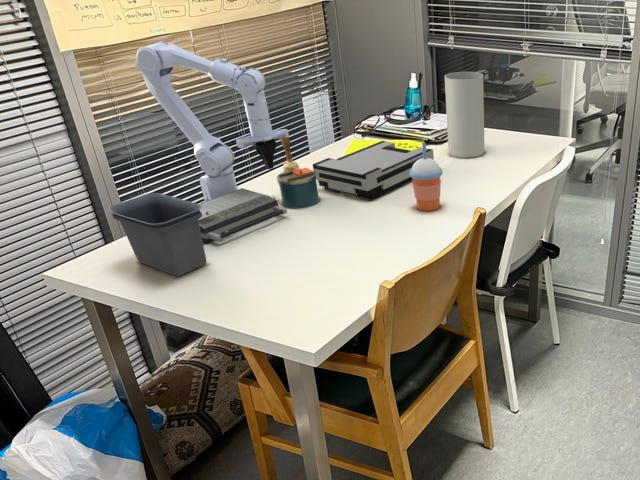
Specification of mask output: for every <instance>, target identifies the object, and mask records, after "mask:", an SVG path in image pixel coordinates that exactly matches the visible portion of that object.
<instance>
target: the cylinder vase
mask: <svg viewBox="0 0 640 480" xmlns="http://www.w3.org/2000/svg"><path fill="white" fill-rule="evenodd" d="M444 91H445V92H444V94H445V112H446V113H445V114H446V130H447V151H448V154H449V155H450V156H452V157H455V158H458V159H459V158H460V159H472V158H476V157H480V156H482V155H483V154H484V153H485V151H486V150H485V149H486V148H485V145H486V144H485V104H484V103H485V101H484V99H485V98H484V96H485V95H484V74H483V73H480V72H476V71H457V72H449V73H447V74H445V75H444Z"/></svg>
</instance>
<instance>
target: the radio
mask: <svg viewBox="0 0 640 480" xmlns="http://www.w3.org/2000/svg"><path fill="white" fill-rule="evenodd" d="M198 204H199V205H201V206H202V208H201V209H200V210H199V211H201V213H202V217H201V218H200V219H198V222H199V226H200V231H201V236H202V241H203V244H209V243H211V242H213V241H214V242H220V241H222V240H223V239H225V238H227V237H229V236H232V235H235V234H236V233H239V232H242V231H244V230H247V229H249V228H251V227H254V226H256V225H259V224H261V223H264V222H267V221H268V220H271V219H273V218H276V217H278V216H280V215H286V214H288V210H287V207H282V206H280V204H279V202H278V200H277V199H276V197H274V196H270V195H267V194H263V193H260V192H257V191H253V190H250V189H246V188H243V187H241V188H238V190H236V191H233V192H230V193H227V194H224V195H222V196H219V197H216V198H213V199H211V200H208V201H205V200H204V201H202V202H200V203H198Z"/></svg>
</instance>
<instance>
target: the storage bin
mask: <svg viewBox="0 0 640 480" xmlns="http://www.w3.org/2000/svg"><path fill="white" fill-rule="evenodd" d="M201 208H202V206H201V205H199V203H196V202H193V201H190V200H189V201H188V200H185V199H181V198H178V197H175V196H170V195H169V194H168V195H167V194H164V193H159V192H152V193H147V194H143V195H139V196H137V197H134V198H131V199H128V200H125V201H122V202H119V203H115V204H113V205H111V206H109V208H108V209H107V211H108V212H109V213H111V216H112V218H113V219H114V220H116V221H117V222H118V221H119V222H120V225H121V227H122V229H123V231H124V233H125V235H126V238H127V240H128V242H129V244H130V247H131V249H132V251H133V254H134V255H135V258H136V260H137V262H139V263H141V264H144V265H146V266H149V267H152V268H154V269H157V270H160V271H162V272H165V273H167V274H171V275H173V276H176V277H177V276H178V277H179V276H183V275H184V274H187V273H189V272H191V271H193V270H196V269H198V268H200V267H202V266H204V265H206V264H207V257H206V252H205V247H204V242H203V241H202V236H201V231H200V226H199V222H198V219H200V218H201V217H202V213H201V211H199V210H200V209H201Z"/></svg>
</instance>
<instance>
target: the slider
mask: <svg viewBox="0 0 640 480" xmlns="http://www.w3.org/2000/svg"><path fill="white" fill-rule="evenodd" d="M293 168H294V171H293V173H294V174H296V175H298V176H300V175H304V174H308V173H312V172H314V170H313V169H310V168H308V167H304V168H305V169H303V168H300V167H299V168H297V167H293Z"/></svg>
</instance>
